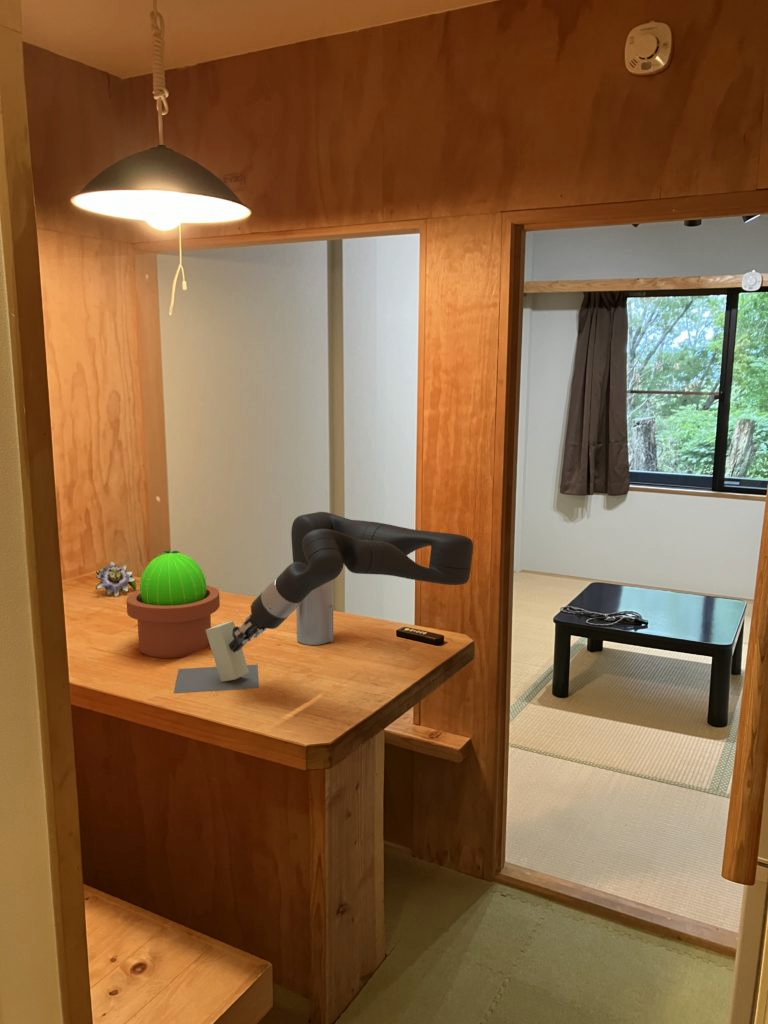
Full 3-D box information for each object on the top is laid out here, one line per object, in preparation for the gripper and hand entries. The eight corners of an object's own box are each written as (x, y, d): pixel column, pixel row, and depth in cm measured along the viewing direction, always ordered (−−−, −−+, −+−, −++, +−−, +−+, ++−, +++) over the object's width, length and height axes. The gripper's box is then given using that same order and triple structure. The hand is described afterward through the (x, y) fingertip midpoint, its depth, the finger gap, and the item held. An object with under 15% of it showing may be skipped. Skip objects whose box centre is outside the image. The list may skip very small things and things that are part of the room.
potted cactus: (197, 666, 188) (194, 563, 183) (112, 658, 192) (107, 557, 188) (233, 635, 209) (231, 542, 204) (156, 629, 213) (152, 538, 209)
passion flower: (117, 613, 244) (94, 587, 237) (105, 598, 252) (83, 573, 245) (147, 589, 248) (125, 563, 241) (135, 575, 256) (113, 550, 249)
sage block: (249, 672, 177) (233, 620, 177) (235, 679, 174) (219, 626, 174) (234, 675, 180) (219, 624, 180) (221, 681, 176) (205, 629, 176)
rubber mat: (257, 668, 187) (257, 664, 186) (259, 692, 173) (258, 687, 173) (178, 673, 183) (178, 668, 183) (173, 697, 170) (173, 693, 170)
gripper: (268, 625, 160) (223, 671, 168) (305, 608, 172) (262, 652, 180) (246, 595, 162) (203, 643, 170) (285, 581, 173) (243, 626, 181)
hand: (233, 647), depth 175 cm, fingers closed
